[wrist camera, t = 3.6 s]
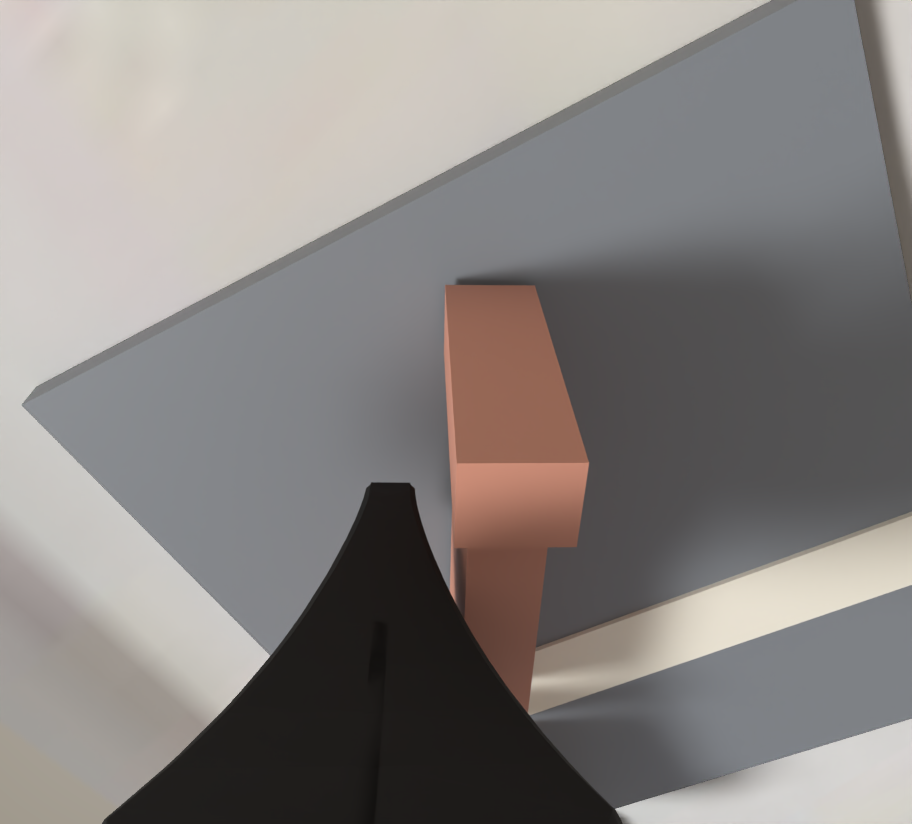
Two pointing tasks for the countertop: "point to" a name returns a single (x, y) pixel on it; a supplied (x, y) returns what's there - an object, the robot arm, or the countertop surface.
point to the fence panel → (507, 468)
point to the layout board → (590, 404)
